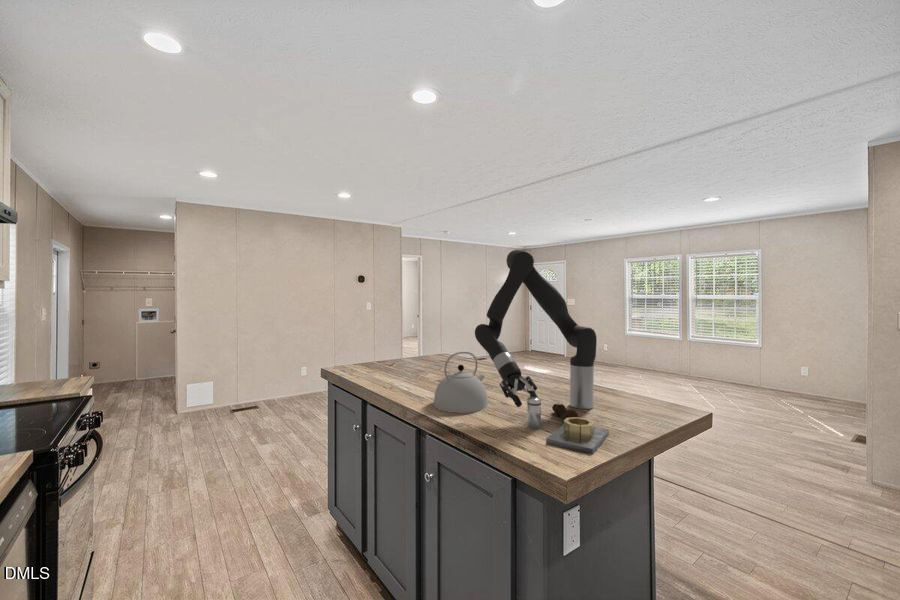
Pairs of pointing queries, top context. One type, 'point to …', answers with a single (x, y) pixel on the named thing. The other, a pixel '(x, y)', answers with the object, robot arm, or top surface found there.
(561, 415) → the bolt
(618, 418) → the top surface
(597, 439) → the square base with ring
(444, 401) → the kettle
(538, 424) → the cylinder
